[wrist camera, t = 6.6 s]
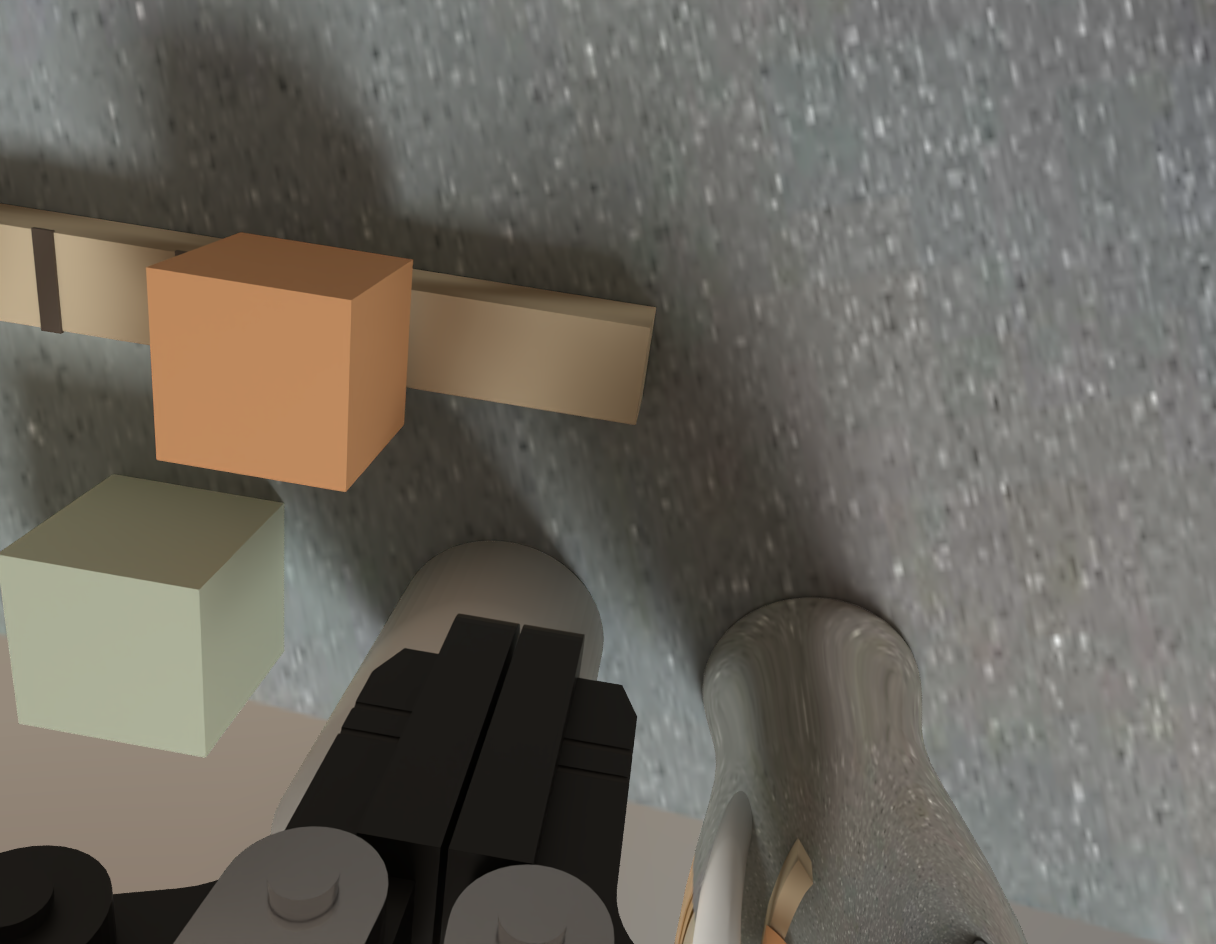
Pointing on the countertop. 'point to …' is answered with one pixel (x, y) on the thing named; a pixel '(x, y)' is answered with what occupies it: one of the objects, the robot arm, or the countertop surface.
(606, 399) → the rail
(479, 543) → the grey rounded cylinder
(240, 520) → the sage block
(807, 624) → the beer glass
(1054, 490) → the countertop surface
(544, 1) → the countertop surface
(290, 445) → the block
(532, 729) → the robot arm
